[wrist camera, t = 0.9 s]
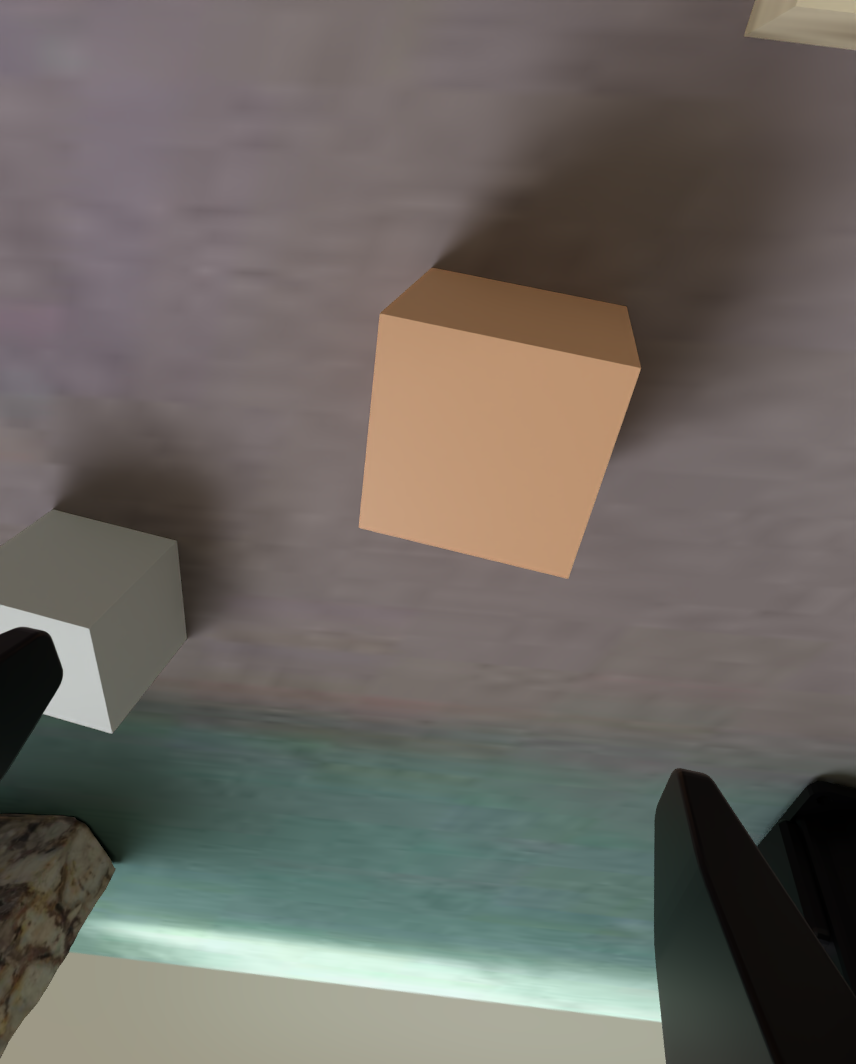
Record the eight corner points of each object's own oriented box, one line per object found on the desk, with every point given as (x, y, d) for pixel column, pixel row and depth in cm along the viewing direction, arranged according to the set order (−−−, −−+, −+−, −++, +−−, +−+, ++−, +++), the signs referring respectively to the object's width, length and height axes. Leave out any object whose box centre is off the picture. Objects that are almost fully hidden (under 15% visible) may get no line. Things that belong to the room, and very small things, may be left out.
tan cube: (626, 305, 16) (640, 368, 11) (571, 478, 18) (568, 578, 14) (432, 267, 16) (379, 313, 12) (408, 441, 19) (358, 527, 15)
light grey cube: (178, 539, 23) (89, 628, 19) (187, 637, 26) (112, 733, 22) (54, 508, 23) (-60, 588, 19) (77, 607, 26) (-18, 696, 22)
